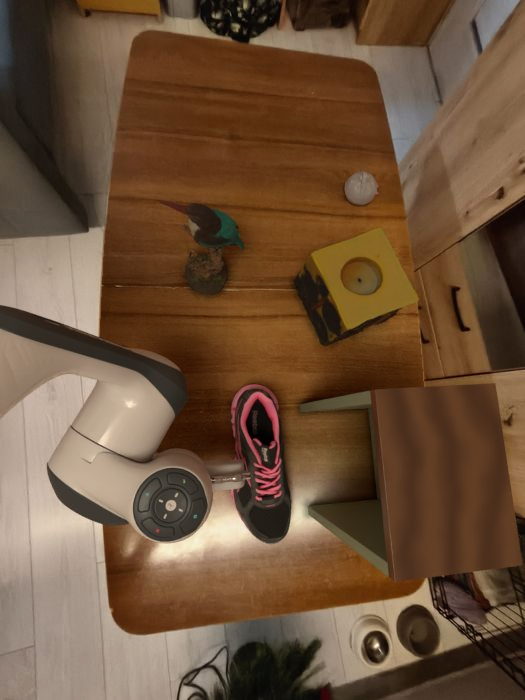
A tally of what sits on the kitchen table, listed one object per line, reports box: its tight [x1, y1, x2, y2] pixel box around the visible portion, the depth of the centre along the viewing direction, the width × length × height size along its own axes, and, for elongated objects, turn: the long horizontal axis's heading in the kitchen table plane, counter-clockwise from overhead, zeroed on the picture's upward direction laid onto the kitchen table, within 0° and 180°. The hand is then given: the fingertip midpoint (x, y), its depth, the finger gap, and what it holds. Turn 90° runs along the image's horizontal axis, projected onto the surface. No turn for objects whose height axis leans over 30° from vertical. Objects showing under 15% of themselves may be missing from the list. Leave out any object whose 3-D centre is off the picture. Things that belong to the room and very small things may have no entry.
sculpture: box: [156, 199, 246, 295], centre depth 70 cm, size 8×14×25 cm, turn 88°
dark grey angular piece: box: [299, 390, 389, 578], centre depth 65 cm, size 15×20×33 cm
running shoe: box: [230, 383, 293, 545], centre depth 72 cm, size 11×27×13 cm, turn 9°
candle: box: [293, 226, 420, 347], centre depth 79 cm, size 15×15×15 cm
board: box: [369, 383, 524, 583], centre depth 48 cm, size 15×20×2 cm
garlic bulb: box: [343, 170, 379, 206], centre depth 87 cm, size 6×7×8 cm
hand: (177, 471), depth 69 cm, fingers closed
